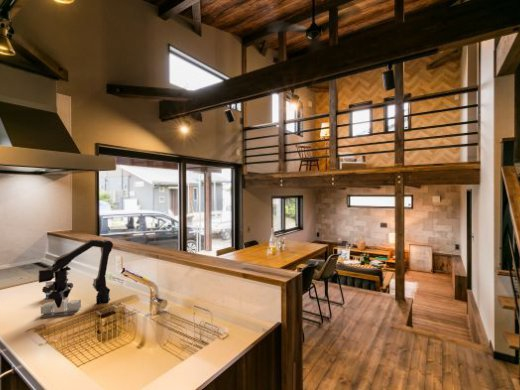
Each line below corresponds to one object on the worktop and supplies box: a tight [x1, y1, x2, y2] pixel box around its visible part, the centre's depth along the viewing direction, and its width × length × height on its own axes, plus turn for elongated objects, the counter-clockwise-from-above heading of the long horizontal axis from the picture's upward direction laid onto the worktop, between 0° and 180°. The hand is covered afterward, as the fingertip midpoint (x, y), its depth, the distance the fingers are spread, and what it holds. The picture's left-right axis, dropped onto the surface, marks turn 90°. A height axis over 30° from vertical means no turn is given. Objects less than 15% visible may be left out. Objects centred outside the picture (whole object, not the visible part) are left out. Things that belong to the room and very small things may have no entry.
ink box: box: [45, 278, 56, 300], centre depth 182 cm, size 8×5×12 cm, turn 105°
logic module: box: [53, 296, 69, 312], centre depth 159 cm, size 5×6×6 cm
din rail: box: [40, 298, 82, 320], centre depth 159 cm, size 18×12×6 cm, turn 106°
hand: (61, 305), depth 159 cm, fingers open, 7 cm apart
